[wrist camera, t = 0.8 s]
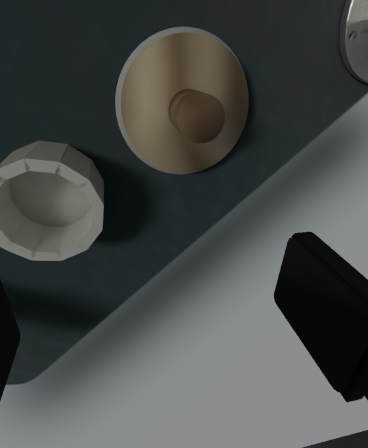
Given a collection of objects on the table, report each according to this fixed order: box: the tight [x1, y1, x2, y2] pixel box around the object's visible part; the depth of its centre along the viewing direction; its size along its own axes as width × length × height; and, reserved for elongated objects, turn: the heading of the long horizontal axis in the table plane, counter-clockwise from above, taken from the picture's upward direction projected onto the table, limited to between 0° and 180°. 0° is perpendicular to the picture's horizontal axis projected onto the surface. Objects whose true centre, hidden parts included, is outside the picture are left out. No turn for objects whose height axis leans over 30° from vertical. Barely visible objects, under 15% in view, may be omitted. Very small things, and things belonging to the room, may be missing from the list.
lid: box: [121, 32, 249, 174], centre depth 26 cm, size 13×13×6 cm
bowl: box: [0, 141, 104, 261], centre depth 28 cm, size 10×10×6 cm
